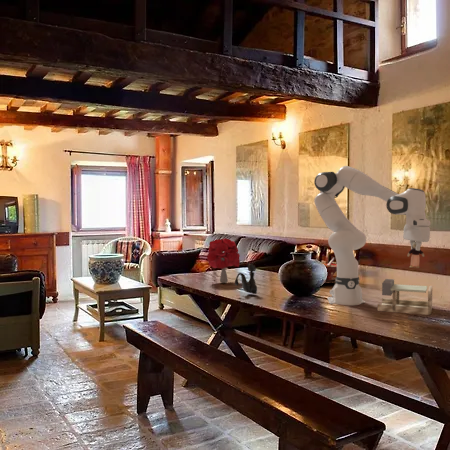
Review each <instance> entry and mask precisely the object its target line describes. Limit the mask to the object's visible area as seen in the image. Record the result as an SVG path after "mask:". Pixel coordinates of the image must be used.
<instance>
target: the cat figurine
mask: <svg viewBox="0 0 450 450" xmlns="http://www.w3.org/2000/svg"><path fill="white" fill-rule="evenodd" d="M246 263H247V270H248V275H249V280H248V281H247V278H246V275H245V274H244V273H243V272H239V273H237V276H236V278H235V279H234V280H235V281H234V285H235V286H238V285H239V280H238V279H239V276H240V279H241V286H242V290H243V291H244V292H246V293H247V294H253V295H256V294H258V285H257V283H256V279H255V272H256V270H257V268H256V265H254V264H253V263H252V262H251V263H249V262H246Z"/></svg>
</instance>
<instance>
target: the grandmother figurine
mask: <svg viewBox="0 0 450 450" xmlns="http://www.w3.org/2000/svg"><path fill="white" fill-rule="evenodd" d="M416 244H417V243H416V241H415V242H413V244H412V245H413V248H414V249H411V248H410V249H409V251H408V253H407V258H408V257H410V256H411V257H410V266H409V268H416V269H420V255H421V256H422V257H423V258H424V257H425V254H424V251H422V250H421V249H420V251H417V250H415V247H416Z"/></svg>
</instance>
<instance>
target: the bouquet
mask: <svg viewBox="0 0 450 450" xmlns="http://www.w3.org/2000/svg"><path fill="white" fill-rule="evenodd" d="M208 244H209V246H208V253H207V257H206V258H207V259H206V260H207V261H208V265H209V266H210V267H212V268H213V269H221V272H220V277H219V283H225V284H226V283H228V279H229V278H228V275H227V270H226V268H228V267H232V266H233V267H234V268H239V267H240V263H241V259H240V257H241V254H240V253H239V248H238V246H237V244H236V242H235V241H234V240H232V239H229V238H226V237H224V238H220V239H219V238H218V239H214V240H211V241H209V243H208Z"/></svg>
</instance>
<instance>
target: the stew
mask: <svg viewBox="0 0 450 450" xmlns="http://www.w3.org/2000/svg"><path fill="white" fill-rule="evenodd" d="M335 260H336V257H332V259H331V260H330V261H329V262H328V263H325V262H323V263H322V264H324V265H325V266H326V268H327V272H328V276H327V280H326V282H325V283H332V284H334V285H335V284H336V283H335V282H336V277H334V276H335V273H337V263H336V264H335V263H333V262H334V261H335Z"/></svg>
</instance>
